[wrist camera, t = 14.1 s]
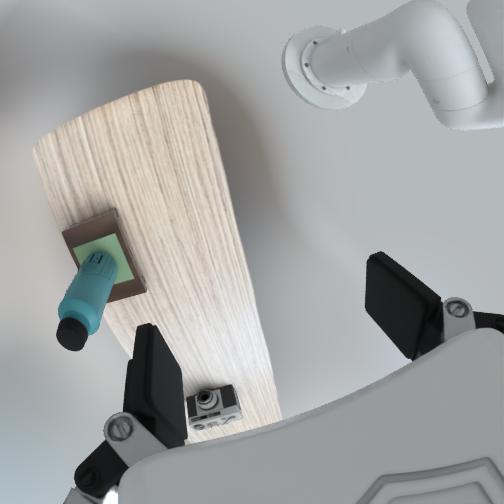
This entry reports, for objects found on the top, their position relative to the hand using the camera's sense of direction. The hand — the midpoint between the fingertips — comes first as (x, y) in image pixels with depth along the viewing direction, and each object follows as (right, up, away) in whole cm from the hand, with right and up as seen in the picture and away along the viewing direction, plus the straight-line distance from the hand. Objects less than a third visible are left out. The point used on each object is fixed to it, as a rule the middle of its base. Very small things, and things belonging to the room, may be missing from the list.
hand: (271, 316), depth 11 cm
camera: (-13, -36, +58) cm, 69 cm away
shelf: (-28, +2, +35) cm, 45 cm away
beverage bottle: (-27, +1, +32) cm, 42 cm away
